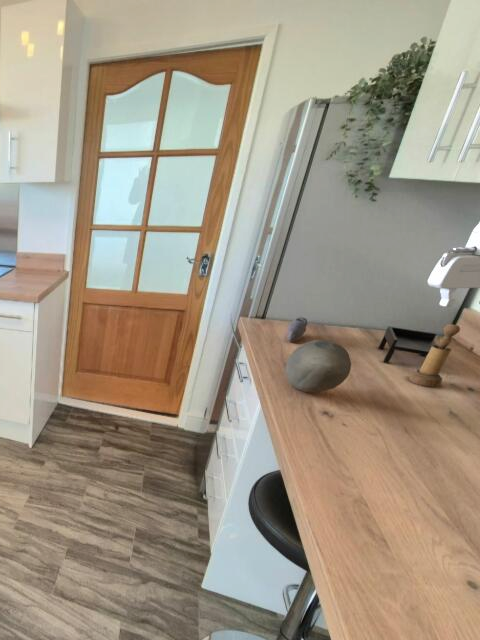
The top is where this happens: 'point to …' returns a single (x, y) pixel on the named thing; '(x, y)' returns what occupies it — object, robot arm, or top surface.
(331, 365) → the cantaloupe
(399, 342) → the tray
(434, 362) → the mortar and pestle
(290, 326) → the perforated stone tool
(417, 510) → the top surface
